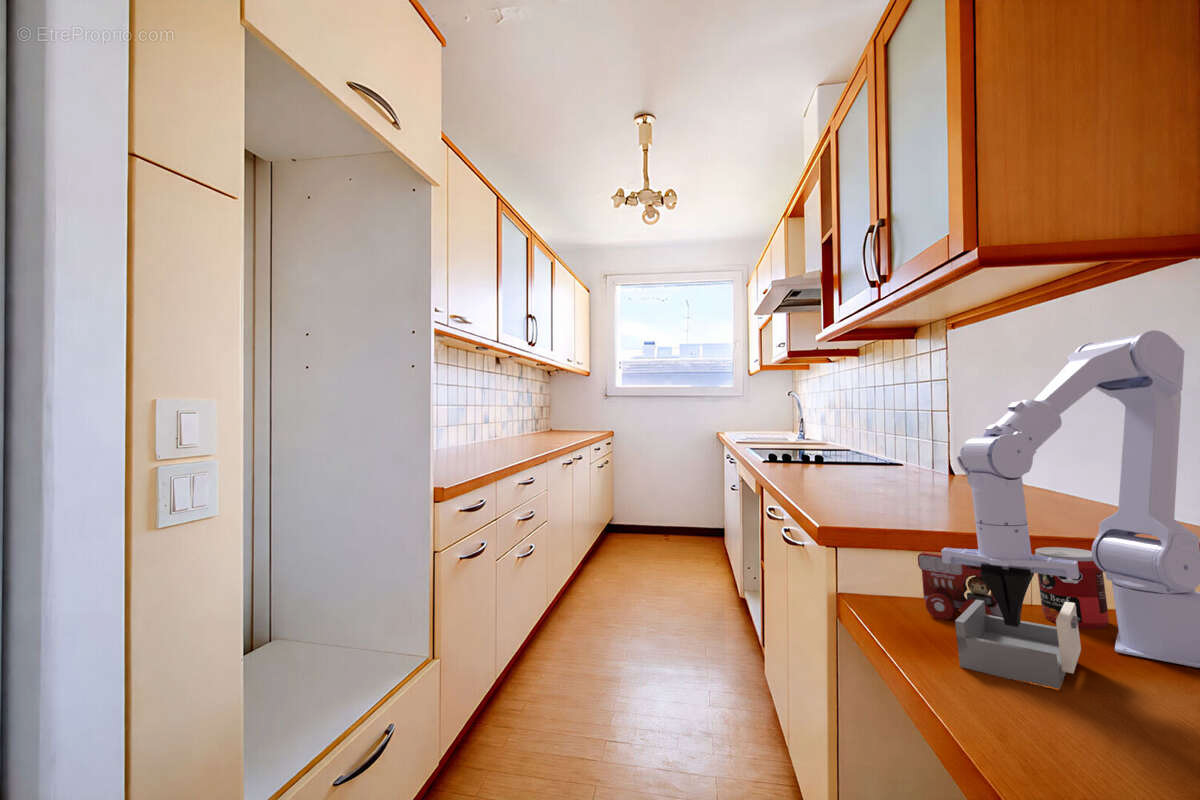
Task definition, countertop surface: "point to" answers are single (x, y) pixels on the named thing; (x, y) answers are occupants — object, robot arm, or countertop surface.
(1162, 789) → the countertop surface
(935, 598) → the toy fire truck
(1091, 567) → the canned food
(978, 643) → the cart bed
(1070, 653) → the panel
